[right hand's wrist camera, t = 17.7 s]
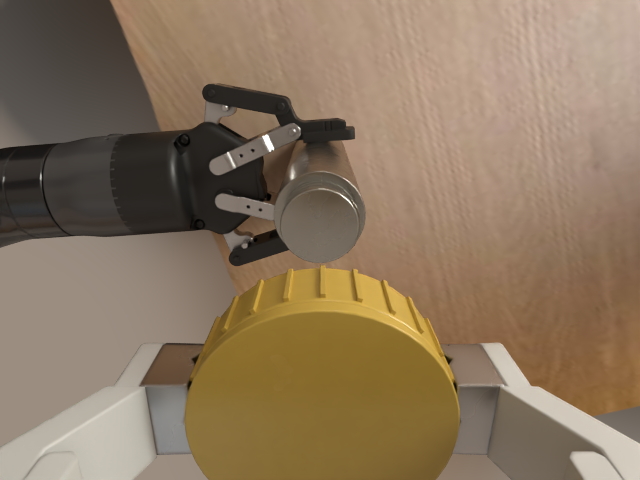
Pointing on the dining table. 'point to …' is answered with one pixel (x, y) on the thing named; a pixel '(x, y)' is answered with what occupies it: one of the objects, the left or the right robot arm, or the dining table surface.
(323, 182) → the brown cylinder
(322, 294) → the lid
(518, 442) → the right robot arm
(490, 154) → the dining table surface
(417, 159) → the dining table surface
